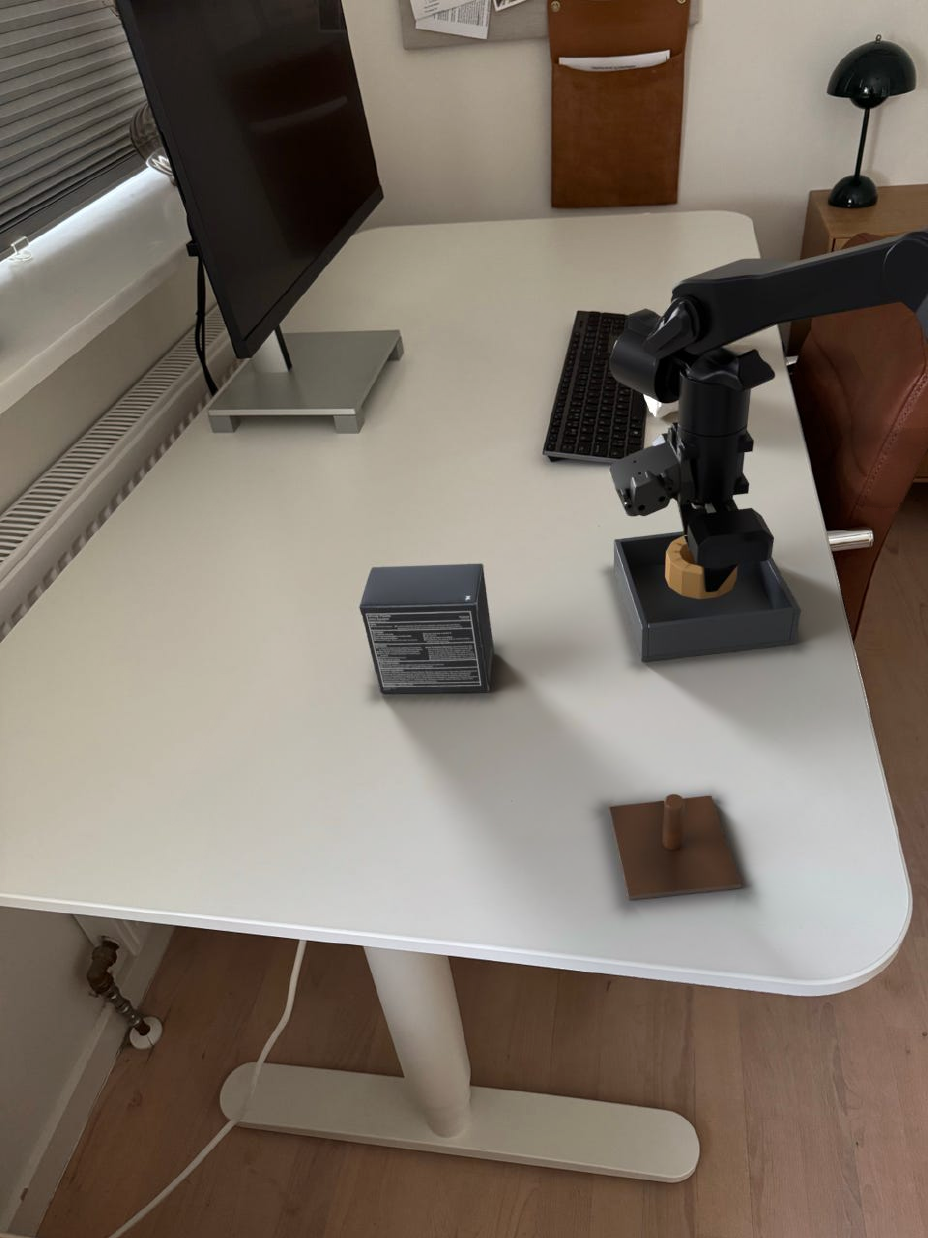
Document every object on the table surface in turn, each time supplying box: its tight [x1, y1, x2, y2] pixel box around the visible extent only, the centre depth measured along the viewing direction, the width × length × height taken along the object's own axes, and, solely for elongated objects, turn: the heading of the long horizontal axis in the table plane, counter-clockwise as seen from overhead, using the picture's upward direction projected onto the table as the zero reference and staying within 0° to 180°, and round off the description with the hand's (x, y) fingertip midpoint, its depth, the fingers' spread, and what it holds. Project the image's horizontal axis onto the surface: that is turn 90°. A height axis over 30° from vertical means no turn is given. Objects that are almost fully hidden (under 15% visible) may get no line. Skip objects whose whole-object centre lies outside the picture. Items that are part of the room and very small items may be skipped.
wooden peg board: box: [608, 793, 742, 901], centre depth 65 cm, size 8×8×6 cm
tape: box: [665, 535, 738, 599], centre depth 84 cm, size 6×6×3 cm
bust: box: [643, 394, 679, 419], centre depth 117 cm, size 12×8×11 cm
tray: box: [613, 530, 802, 663], centre depth 86 cm, size 14×14×4 cm
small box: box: [358, 563, 495, 694], centre depth 81 cm, size 11×6×10 cm, turn 84°
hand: (701, 569), depth 85 cm, fingers closed on tape, 6 cm apart
